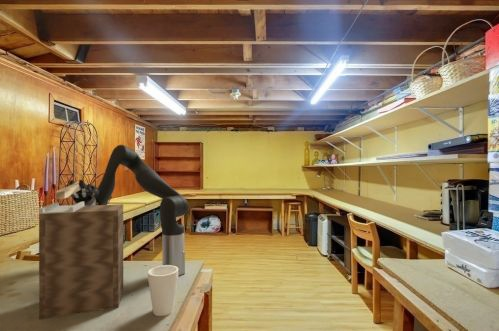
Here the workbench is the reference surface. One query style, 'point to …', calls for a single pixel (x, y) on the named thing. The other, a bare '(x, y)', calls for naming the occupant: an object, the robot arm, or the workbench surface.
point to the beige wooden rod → (68, 191)
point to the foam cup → (163, 288)
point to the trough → (60, 208)
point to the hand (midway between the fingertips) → (75, 181)
